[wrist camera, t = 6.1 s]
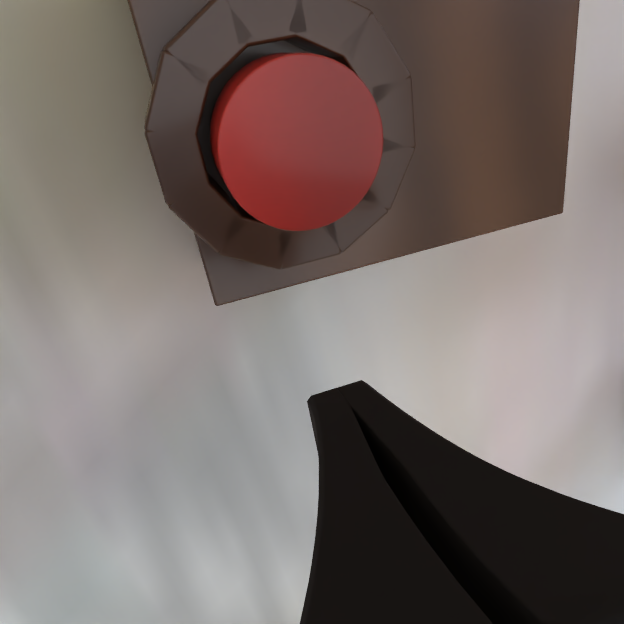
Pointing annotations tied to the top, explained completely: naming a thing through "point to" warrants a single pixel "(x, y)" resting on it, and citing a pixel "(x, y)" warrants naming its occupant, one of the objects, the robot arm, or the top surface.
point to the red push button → (296, 139)
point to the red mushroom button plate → (394, 115)
